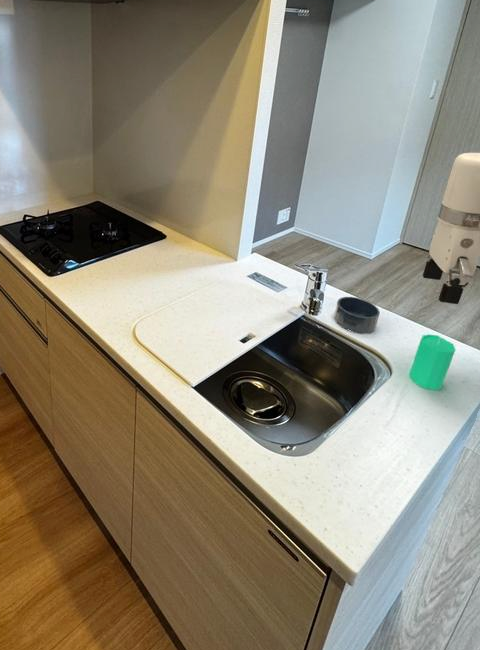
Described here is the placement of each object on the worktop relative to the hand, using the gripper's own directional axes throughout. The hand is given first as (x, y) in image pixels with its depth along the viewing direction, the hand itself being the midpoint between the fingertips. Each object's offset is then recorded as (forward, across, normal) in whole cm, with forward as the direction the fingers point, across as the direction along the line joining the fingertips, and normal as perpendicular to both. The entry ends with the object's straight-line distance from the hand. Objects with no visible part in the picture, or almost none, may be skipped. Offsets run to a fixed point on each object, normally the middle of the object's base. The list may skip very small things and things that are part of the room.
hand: (439, 289), depth 88 cm
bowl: (+22, +17, +9) cm, 29 cm away
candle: (+23, -2, -2) cm, 23 cm away
